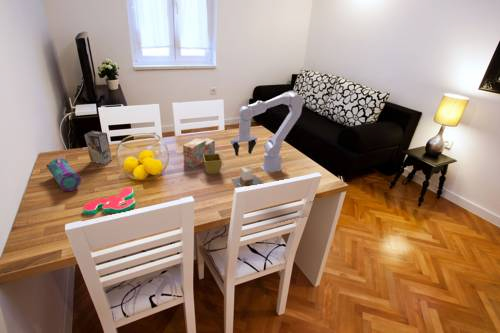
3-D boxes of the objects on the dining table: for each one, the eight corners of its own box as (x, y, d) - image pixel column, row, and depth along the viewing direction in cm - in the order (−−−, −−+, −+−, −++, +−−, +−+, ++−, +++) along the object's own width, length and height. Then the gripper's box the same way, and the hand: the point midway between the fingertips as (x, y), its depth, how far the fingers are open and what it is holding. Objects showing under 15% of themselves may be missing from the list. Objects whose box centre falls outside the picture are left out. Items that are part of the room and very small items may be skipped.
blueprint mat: (254, 175, 149) (254, 174, 148) (267, 188, 138) (267, 187, 138) (230, 180, 143) (230, 179, 143) (242, 194, 132) (242, 193, 132)
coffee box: (112, 159, 154) (107, 132, 147) (104, 164, 149) (99, 137, 141) (98, 157, 156) (92, 130, 148) (90, 162, 150) (83, 134, 143)
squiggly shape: (132, 190, 130) (132, 186, 129) (137, 210, 117) (136, 205, 116) (84, 199, 121) (82, 195, 120) (83, 221, 109) (82, 217, 108)
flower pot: (205, 177, 144) (204, 161, 140) (202, 169, 151) (202, 154, 147) (221, 175, 146) (222, 160, 142) (218, 167, 154) (219, 153, 149)
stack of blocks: (206, 151, 171) (206, 133, 165) (215, 154, 169) (215, 135, 163) (183, 165, 154) (182, 144, 148) (192, 168, 152) (192, 147, 146)
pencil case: (49, 176, 135) (43, 159, 131) (69, 171, 141) (65, 154, 136) (62, 194, 123) (57, 176, 118) (84, 188, 129) (79, 169, 124)
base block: (248, 181, 141) (248, 175, 140) (253, 186, 138) (253, 179, 136) (239, 183, 139) (239, 176, 137) (243, 188, 135) (244, 181, 134)
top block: (248, 175, 140) (248, 166, 137) (252, 179, 136) (253, 170, 134) (240, 176, 138) (240, 167, 135) (244, 180, 134) (244, 171, 132)
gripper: (253, 126, 148) (251, 149, 154) (228, 129, 141) (227, 153, 148) (259, 130, 142) (257, 154, 148) (234, 134, 136) (233, 158, 142)
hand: (243, 154), depth 148 cm, fingers open, 7 cm apart
